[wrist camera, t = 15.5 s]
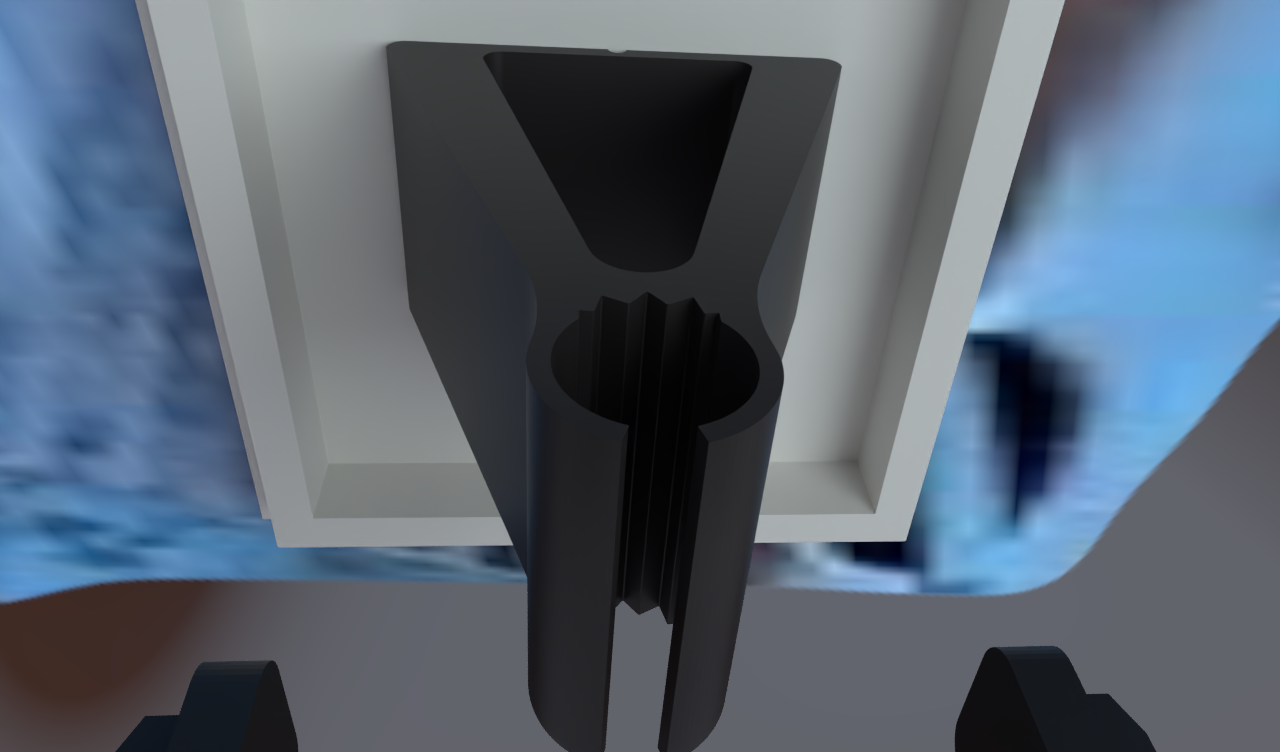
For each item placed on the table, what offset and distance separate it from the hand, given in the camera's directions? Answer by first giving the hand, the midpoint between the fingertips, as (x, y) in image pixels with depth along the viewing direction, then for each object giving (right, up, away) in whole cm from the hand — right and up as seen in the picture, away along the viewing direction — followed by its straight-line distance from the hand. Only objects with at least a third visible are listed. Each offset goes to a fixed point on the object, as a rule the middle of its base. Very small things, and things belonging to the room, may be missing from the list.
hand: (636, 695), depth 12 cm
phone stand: (-1, +8, +10) cm, 13 cm away
